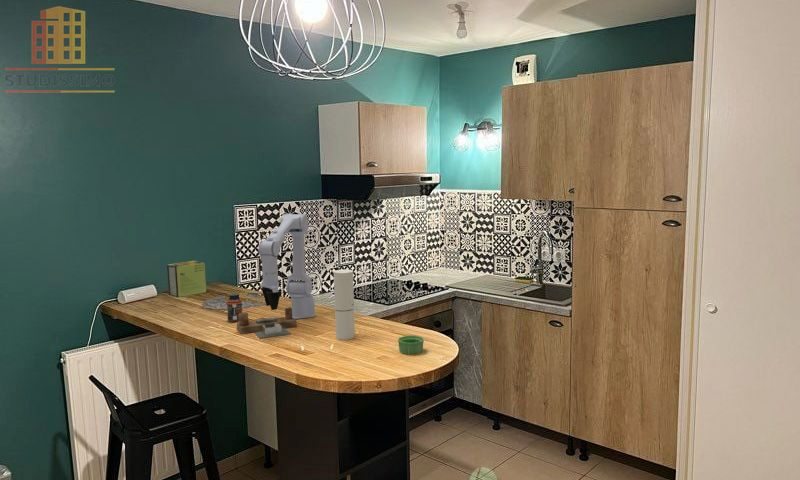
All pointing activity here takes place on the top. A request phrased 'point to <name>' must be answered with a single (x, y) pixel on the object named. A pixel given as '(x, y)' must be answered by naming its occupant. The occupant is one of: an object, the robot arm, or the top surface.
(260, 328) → the body
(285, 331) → the rubber mat
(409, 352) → the ramekin
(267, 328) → the light switch plate
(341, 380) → the top surface
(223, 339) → the top surface
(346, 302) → the cylindrical container
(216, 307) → the worn metal disc
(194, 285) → the protein box
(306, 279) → the robot arm
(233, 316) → the supplement bottle
